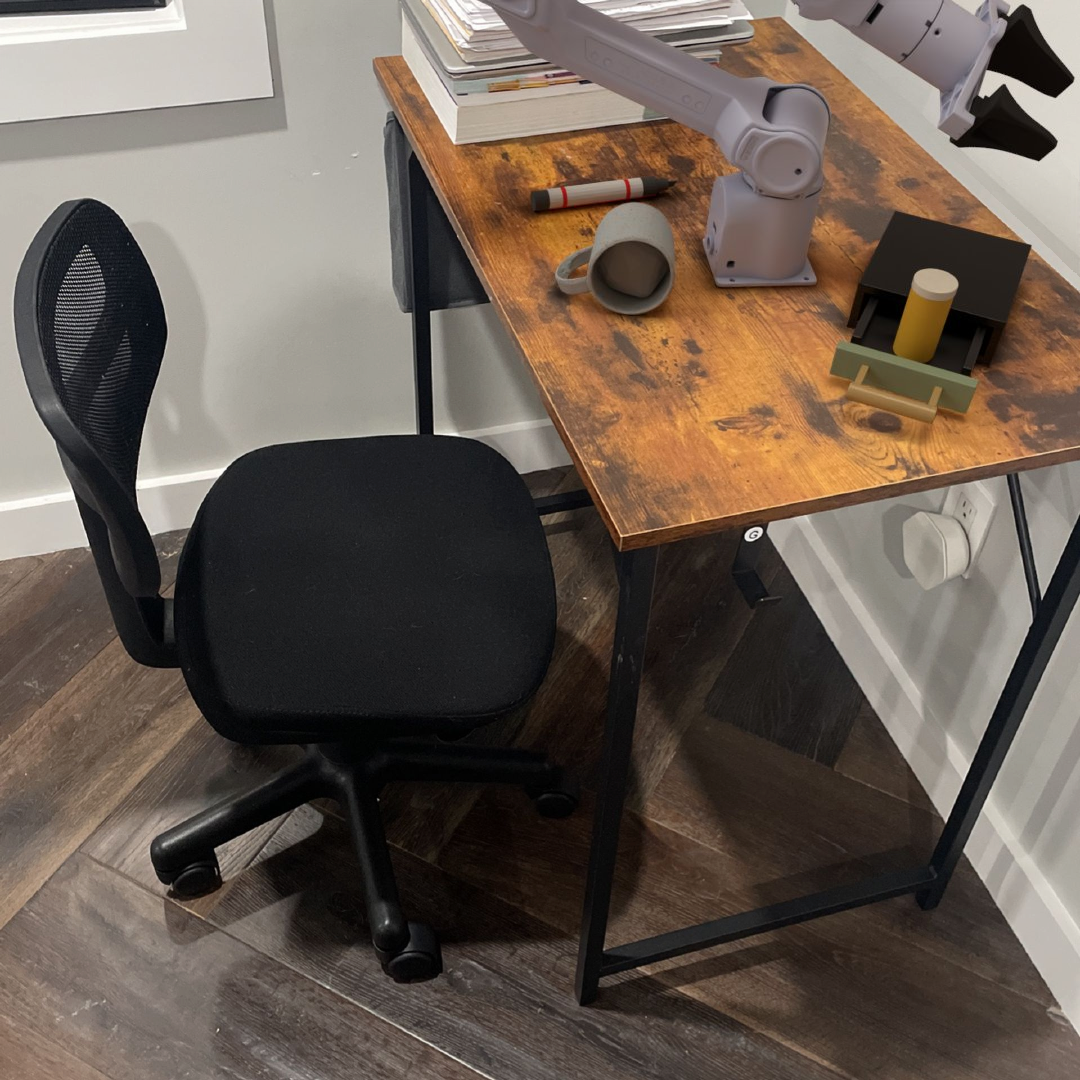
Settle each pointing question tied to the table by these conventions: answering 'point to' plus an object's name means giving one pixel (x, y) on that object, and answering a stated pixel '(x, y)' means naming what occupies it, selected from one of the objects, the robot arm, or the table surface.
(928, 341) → the pill bottle
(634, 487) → the table surface
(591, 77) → the robot arm
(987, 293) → the cabinet
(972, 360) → the drawer
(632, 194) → the marker
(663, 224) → the ceramic mug
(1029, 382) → the table surface
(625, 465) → the table surface
